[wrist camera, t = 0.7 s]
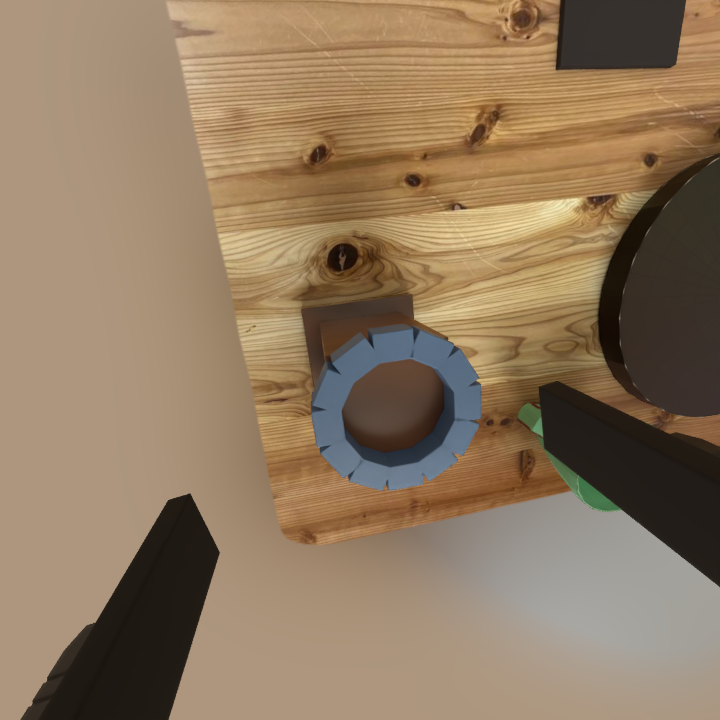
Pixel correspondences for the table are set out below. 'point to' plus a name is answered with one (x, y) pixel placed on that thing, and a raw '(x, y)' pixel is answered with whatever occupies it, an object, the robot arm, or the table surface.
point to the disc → (669, 297)
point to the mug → (580, 487)
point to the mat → (619, 33)
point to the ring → (430, 451)
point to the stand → (377, 373)
